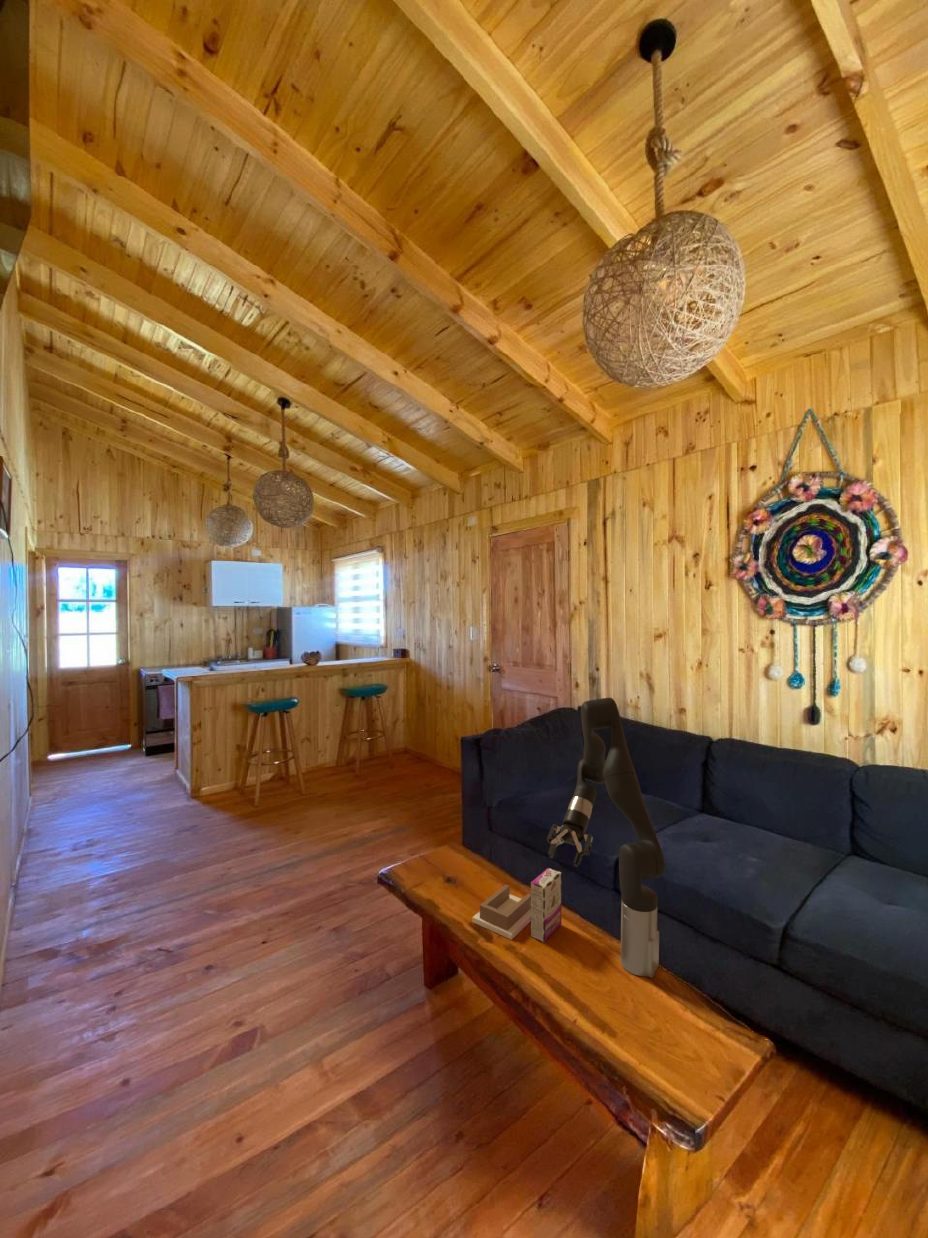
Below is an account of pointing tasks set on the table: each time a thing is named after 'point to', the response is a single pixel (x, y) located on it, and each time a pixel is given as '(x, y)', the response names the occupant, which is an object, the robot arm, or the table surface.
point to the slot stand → (504, 913)
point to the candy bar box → (545, 904)
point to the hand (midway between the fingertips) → (562, 861)
